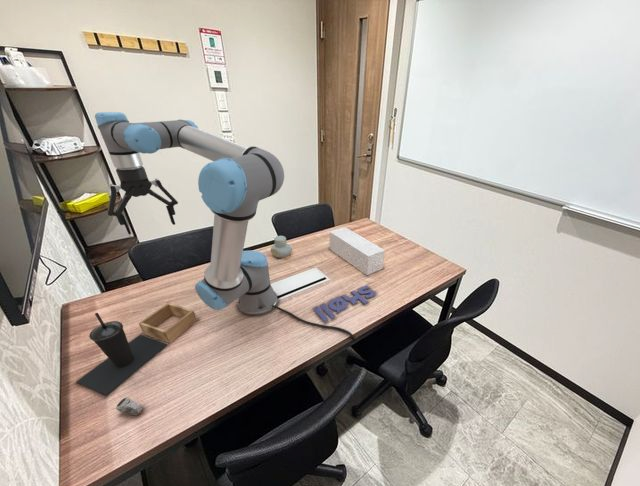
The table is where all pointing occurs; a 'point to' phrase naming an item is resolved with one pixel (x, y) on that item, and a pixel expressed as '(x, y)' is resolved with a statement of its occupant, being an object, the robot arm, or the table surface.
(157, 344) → the mat
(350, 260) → the white rectangular block
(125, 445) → the table surface
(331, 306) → the signage
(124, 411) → the grey stone
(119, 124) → the robot arm
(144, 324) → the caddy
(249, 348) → the table surface
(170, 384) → the table surface
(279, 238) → the air freshener
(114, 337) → the drinking cup
